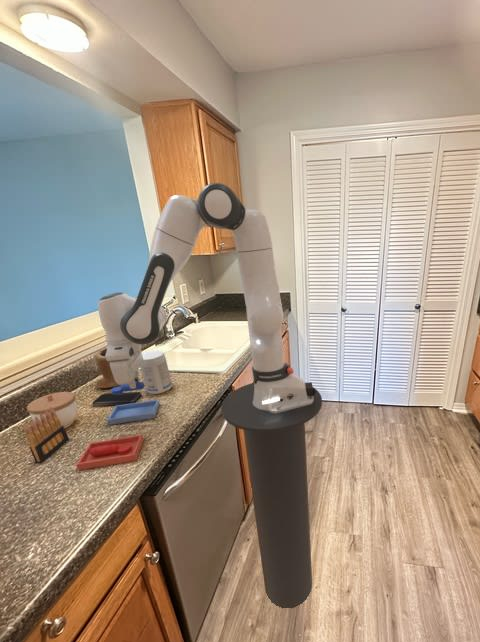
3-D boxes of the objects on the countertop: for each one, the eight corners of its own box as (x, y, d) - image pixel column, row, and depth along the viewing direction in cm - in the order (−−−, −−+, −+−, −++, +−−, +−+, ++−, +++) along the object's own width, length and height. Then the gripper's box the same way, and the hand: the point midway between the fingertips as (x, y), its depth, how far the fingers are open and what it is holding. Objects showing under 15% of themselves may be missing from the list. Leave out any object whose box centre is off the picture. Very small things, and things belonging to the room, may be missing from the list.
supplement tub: (169, 381, 134) (161, 348, 128) (175, 389, 127) (167, 354, 121) (144, 388, 129) (135, 354, 123) (149, 397, 122) (139, 361, 116)
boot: (120, 390, 128) (109, 355, 123) (92, 390, 130) (80, 355, 124) (140, 374, 142) (131, 342, 136) (114, 374, 143) (105, 342, 137)
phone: (131, 401, 116) (90, 403, 117) (132, 404, 117) (91, 406, 117) (141, 391, 124) (103, 393, 124) (142, 394, 124) (103, 395, 124)
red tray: (143, 439, 96) (142, 434, 96) (136, 460, 88) (134, 454, 87) (91, 448, 94) (89, 442, 93) (78, 470, 85) (76, 464, 84)
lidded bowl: (89, 412, 113) (79, 384, 109) (73, 432, 102) (62, 401, 97) (48, 417, 111) (37, 389, 107) (29, 439, 100) (14, 408, 95)
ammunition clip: (41, 462, 89) (25, 425, 84) (35, 462, 89) (18, 425, 84) (69, 439, 98) (55, 405, 94) (63, 439, 99) (49, 405, 94)
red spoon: (94, 452, 91) (91, 444, 90) (133, 446, 93) (130, 438, 92) (89, 460, 88) (86, 452, 87) (130, 453, 90) (127, 446, 89)
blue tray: (159, 404, 116) (158, 399, 116) (154, 418, 108) (153, 413, 107) (117, 410, 114) (115, 405, 113) (108, 425, 105) (107, 420, 104)
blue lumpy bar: (144, 391, 106) (142, 384, 105) (110, 395, 105) (108, 388, 103) (146, 386, 110) (144, 379, 109) (113, 390, 108) (111, 383, 107)
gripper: (122, 337, 110) (132, 374, 116) (103, 358, 92) (116, 400, 97) (142, 335, 111) (151, 371, 117) (127, 355, 93) (138, 397, 98)
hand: (135, 385), depth 107 cm, fingers closed on blue lumpy bar, 2 cm apart
